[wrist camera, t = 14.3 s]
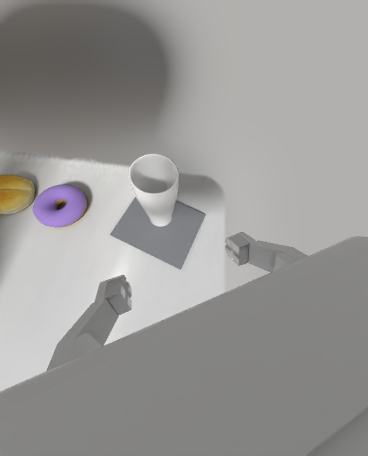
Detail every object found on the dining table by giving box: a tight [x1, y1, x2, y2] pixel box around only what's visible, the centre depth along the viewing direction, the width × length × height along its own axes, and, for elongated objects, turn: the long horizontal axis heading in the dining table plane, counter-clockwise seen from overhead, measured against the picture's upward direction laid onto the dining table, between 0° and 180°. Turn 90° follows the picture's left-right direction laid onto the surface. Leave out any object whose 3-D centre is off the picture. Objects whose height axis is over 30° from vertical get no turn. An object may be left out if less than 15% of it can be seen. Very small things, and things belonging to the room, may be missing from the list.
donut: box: [33, 185, 87, 227], centre depth 30 cm, size 10×9×5 cm
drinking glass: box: [128, 154, 179, 227], centre depth 26 cm, size 7×7×15 cm
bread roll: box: [0, 175, 35, 215], centre depth 30 cm, size 8×9×4 cm
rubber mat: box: [110, 197, 205, 269], centre depth 32 cm, size 17×14×1 cm
